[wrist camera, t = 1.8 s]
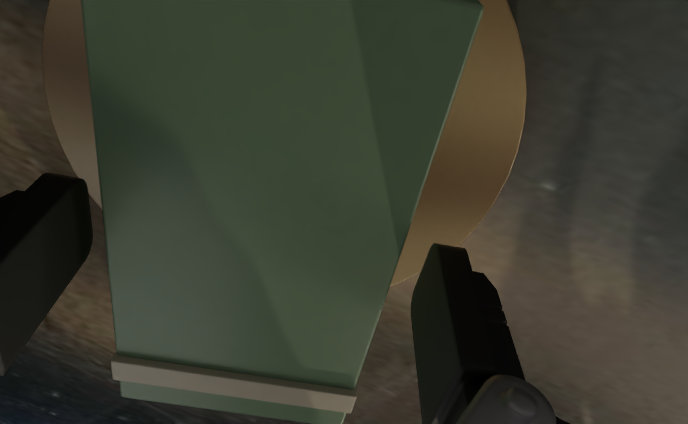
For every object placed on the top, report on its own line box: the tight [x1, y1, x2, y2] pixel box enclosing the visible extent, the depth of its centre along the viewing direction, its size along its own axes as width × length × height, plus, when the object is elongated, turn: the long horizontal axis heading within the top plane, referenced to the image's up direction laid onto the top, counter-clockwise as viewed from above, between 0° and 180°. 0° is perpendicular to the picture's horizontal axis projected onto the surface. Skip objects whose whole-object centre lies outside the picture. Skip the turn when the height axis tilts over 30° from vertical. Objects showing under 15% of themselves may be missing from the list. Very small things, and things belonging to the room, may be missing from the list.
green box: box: [81, 0, 484, 424], centre depth 13 cm, size 12×6×6 cm, turn 169°
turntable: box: [42, 0, 527, 286], centre depth 16 cm, size 15×15×1 cm
